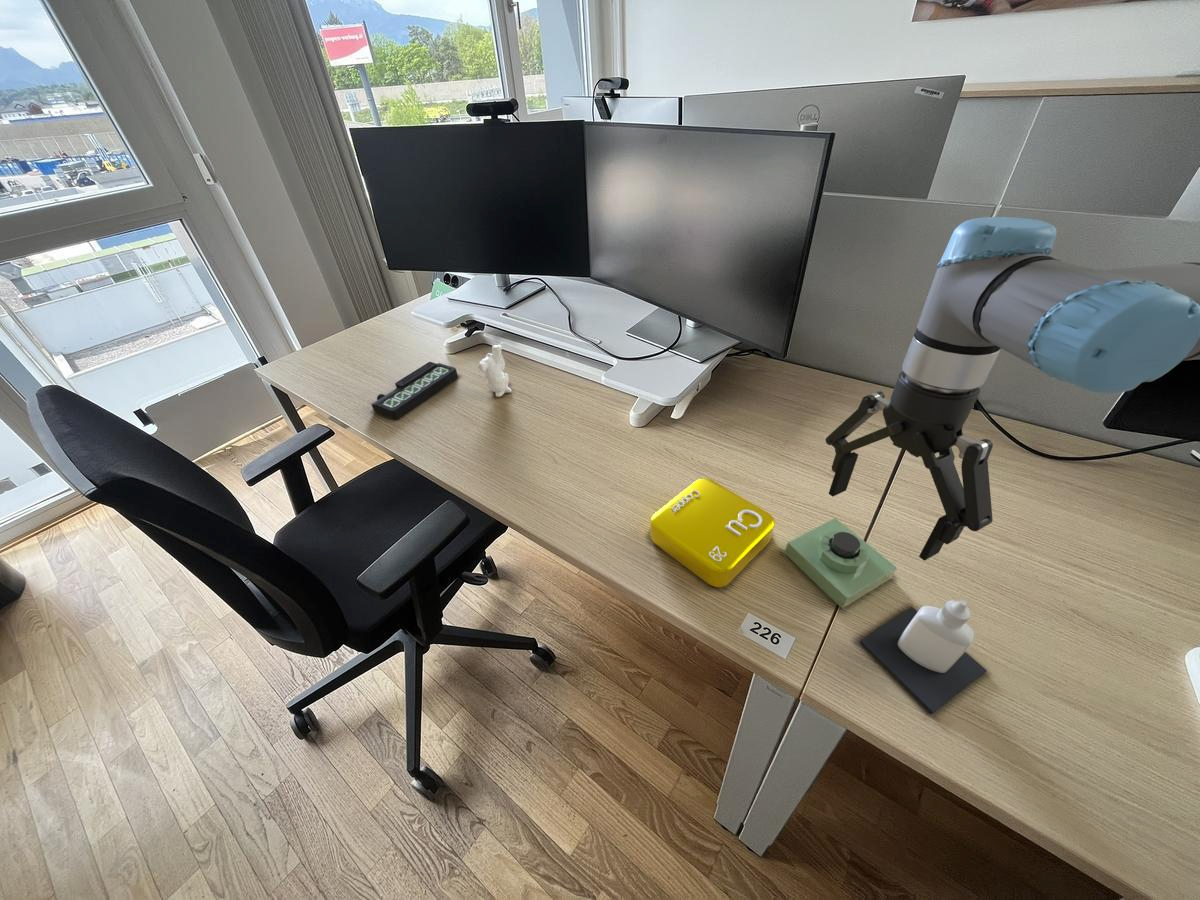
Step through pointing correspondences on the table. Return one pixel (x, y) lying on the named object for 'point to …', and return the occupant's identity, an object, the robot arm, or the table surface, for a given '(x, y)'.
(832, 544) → the black round knob
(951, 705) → the table surface
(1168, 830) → the table surface
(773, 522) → the element tile
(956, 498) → the robot arm
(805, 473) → the table surface
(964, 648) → the eye dropper bottle
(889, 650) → the slate mat
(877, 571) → the button housing
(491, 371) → the koala figurine
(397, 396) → the digital display
